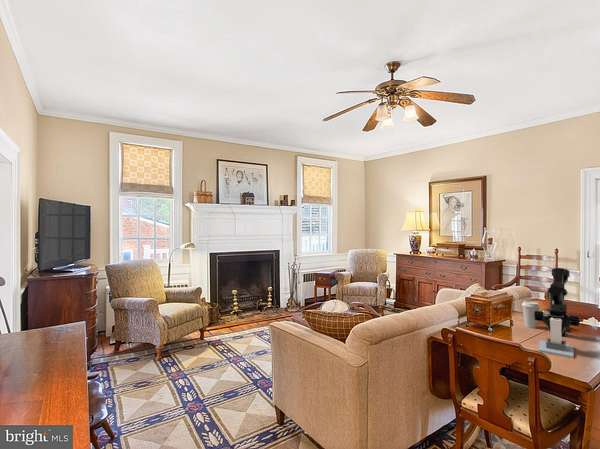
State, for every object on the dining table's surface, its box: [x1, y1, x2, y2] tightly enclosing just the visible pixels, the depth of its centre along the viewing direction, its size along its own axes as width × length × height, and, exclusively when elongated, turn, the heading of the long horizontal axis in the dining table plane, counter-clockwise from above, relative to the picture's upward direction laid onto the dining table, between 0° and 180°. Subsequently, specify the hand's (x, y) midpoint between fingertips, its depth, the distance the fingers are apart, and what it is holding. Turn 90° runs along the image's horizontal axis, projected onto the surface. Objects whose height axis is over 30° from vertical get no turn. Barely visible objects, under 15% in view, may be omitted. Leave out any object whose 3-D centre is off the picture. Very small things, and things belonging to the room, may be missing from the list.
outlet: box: [537, 337, 575, 359], centre depth 177 cm, size 18×14×4 cm
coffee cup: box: [521, 300, 541, 329], centre depth 216 cm, size 10×10×15 cm
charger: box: [549, 318, 563, 344], centre depth 177 cm, size 4×4×13 cm
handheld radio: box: [543, 310, 571, 332], centre depth 217 cm, size 7×3×25 cm
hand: (555, 332), depth 176 cm, fingers closed on charger, 4 cm apart
